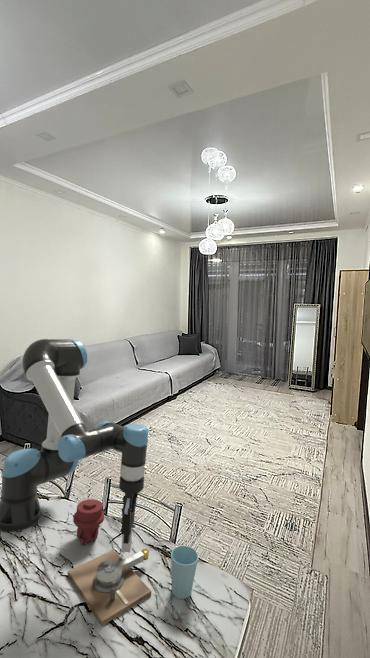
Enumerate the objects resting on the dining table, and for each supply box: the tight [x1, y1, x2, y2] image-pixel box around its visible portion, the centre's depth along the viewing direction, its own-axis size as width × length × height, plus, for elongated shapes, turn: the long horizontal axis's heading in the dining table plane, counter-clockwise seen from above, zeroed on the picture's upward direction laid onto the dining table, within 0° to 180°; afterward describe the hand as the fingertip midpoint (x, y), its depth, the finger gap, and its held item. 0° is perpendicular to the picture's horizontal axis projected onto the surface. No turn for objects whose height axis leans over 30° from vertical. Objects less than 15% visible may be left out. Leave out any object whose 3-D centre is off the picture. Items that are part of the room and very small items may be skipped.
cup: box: [170, 545, 199, 600], centre depth 92 cm, size 8×8×10 cm
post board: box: [67, 549, 152, 627], centre depth 92 cm, size 20×15×4 cm
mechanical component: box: [72, 498, 105, 546], centre depth 110 cm, size 12×10×10 cm
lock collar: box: [96, 548, 150, 588], centre depth 95 cm, size 7×17×3 cm, turn 133°
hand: (125, 550), depth 102 cm, fingers closed
